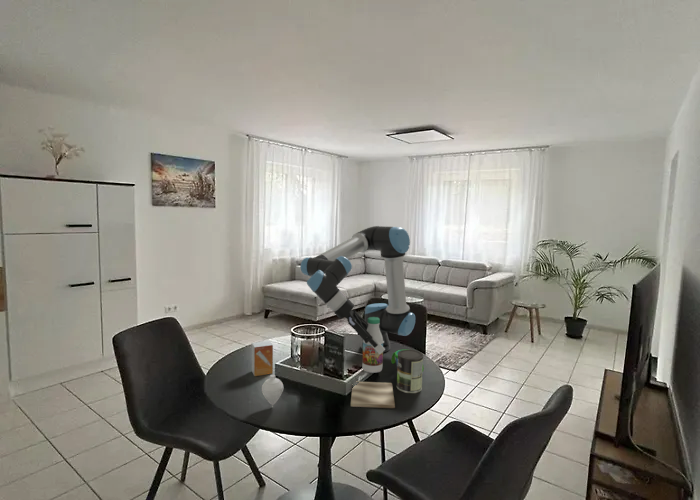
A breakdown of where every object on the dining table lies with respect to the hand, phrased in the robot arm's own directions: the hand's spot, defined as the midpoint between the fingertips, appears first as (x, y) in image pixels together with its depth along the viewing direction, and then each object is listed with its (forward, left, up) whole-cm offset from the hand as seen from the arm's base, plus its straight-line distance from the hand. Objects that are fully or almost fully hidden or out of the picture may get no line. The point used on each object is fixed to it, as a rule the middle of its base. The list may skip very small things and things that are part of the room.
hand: (382, 347), depth 146 cm
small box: (-17, -51, -19) cm, 57 cm away
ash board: (0, -3, -19) cm, 19 cm away
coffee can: (-8, +12, -19) cm, 24 cm away
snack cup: (-19, +12, -19) cm, 30 cm away
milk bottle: (0, -4, -9) cm, 9 cm away
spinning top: (+12, -39, -19) cm, 45 cm away
